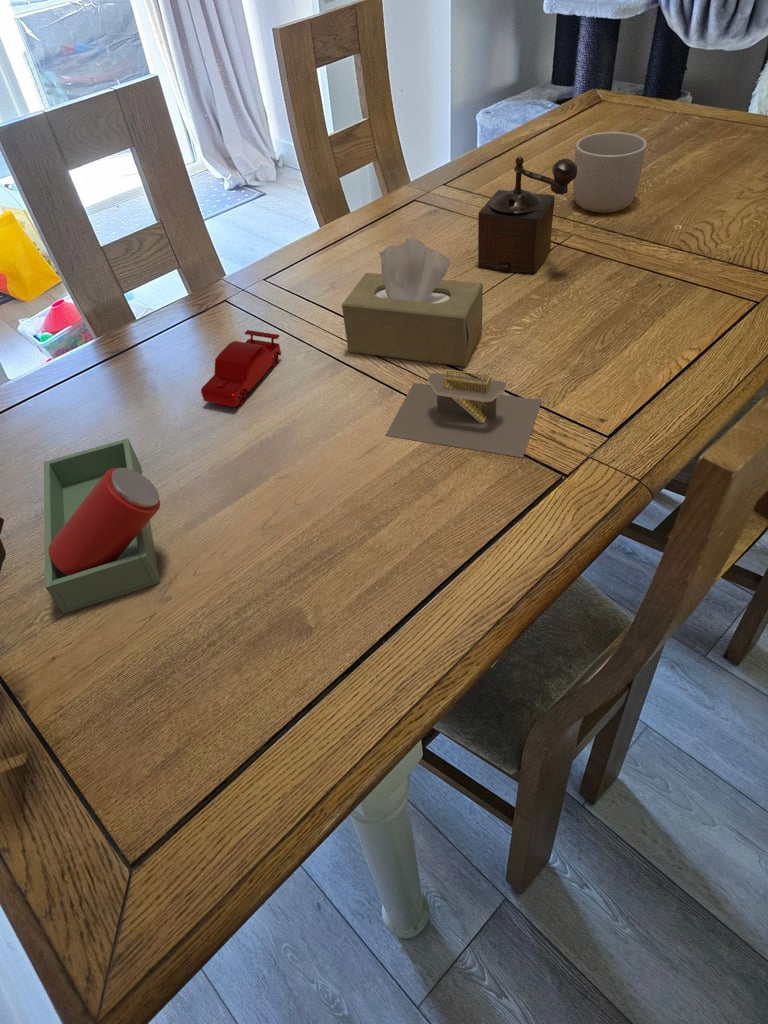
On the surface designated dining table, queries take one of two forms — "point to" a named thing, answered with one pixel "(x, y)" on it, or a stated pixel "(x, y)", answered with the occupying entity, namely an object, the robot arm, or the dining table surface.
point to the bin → (62, 497)
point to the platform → (466, 414)
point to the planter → (608, 170)
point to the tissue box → (414, 309)
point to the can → (105, 522)
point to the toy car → (240, 369)
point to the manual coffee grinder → (521, 222)
